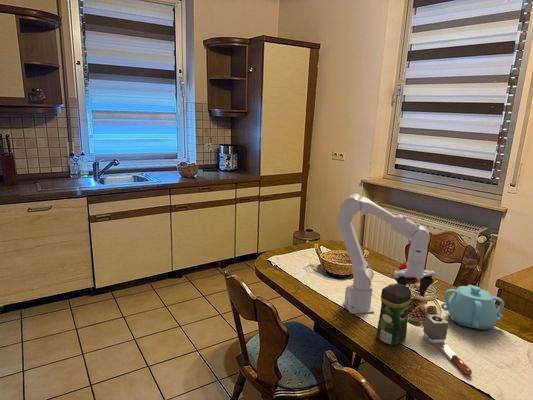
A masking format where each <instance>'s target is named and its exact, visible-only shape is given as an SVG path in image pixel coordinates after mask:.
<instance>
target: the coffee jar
mask: <svg viewBox="0 0 533 400" xmlns="http://www.w3.org/2000/svg"><path fill="white" fill-rule="evenodd" d="M411 300H412V290H411V289H410V287H409V286H407V285H406V286H405V285H402V284H400V283H397V282H396V283H393V284H390V285H386V286H385V287H383V288H382V289H381V294H380V302H381V304H380V312H379V318H378V321H377V322H378V323H377V328H376V337H377V338H378V339H379V341H381V342H382V343H384V344H386V345H390V346H396V345H398V344H400V343H402V342H403V341H405V340H406V338H407V335H408V334H407V333H408V316H409V308H410V304H411V302H412V301H411Z"/></svg>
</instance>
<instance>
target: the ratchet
mask: <svg viewBox="0 0 533 400" xmlns="http://www.w3.org/2000/svg"><path fill="white" fill-rule="evenodd" d="M422 337H423V339H424V340H425V342H426V343H428V344H430V345H434V346H436V348H438V350H439V351H440V352H441V353H442V355H444V357H446V358H447V360H448V361H449V362H453V363H455V365H456V366H457V367H458V368H459V369H460V370H461V371H462V372H463V374H465V375H466V376H472V374H473V371H472V369H471V368H470V367H469V366H468V365H467V364H466V363H465V362H464V361H463V360H462V359H461V358H460V357H459V356H458V355H457V354H456V352H455V351H453V350H452V349H451V348H450V346H448V345H447V344H446V342H445V340H446V339H439V340H431V339H430V338H429V337H428V336H427V334H426V333H425V332H424V331H423V336H422Z"/></svg>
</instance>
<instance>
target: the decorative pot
mask: <svg viewBox="0 0 533 400" xmlns="http://www.w3.org/2000/svg"><path fill="white" fill-rule="evenodd" d="M450 293H452V294H451V295H450V297H449V299H448V295H449V294H450ZM443 295H444V301H445V302H443V303H441V305H440V307H441V309H442V310H443V311H445V312H446V311H447V312H448V314H449V316H450V318H451V319H452V320H453V322H455V323H456V324H457V325H458V324H459V325H458V326H460V325H461V326H460V327H468V328H473V329H476V330H477V329H478V330H480V329H481V331H486V330H490V329H492V328H493V327H494V326H495V325H496V324H497V321H498V322H501V321H502V320H503V319H504V315H503V314H501V313H502V311H503V309H504V308H505V301H504V300H503V299H502V298H500V297H499V296H493V295H492V294H491V293H490V292H489V291H487V290H485V289H482V288H481V287H479V286H477V285H473V284H468V285H461V286H457V288H456V289H455V288H450V289H447V290H445V292H444V294H443ZM494 301H499V302H500V305H499V306H498V308H497V307H496V304H495V302H494Z"/></svg>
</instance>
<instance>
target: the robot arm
mask: <svg viewBox="0 0 533 400" xmlns="http://www.w3.org/2000/svg"><path fill="white" fill-rule="evenodd" d="M359 212H360V215H362V214H363V215H364V214H371V215H373V216H375V217H376V218H378V219H381V220H382V221H384V222H386V223H388V224H389V225H390V228H391V229H392V230H394V231H395V232H397V233H398V234H400V235H402V236H404V237H405V238H407V239H410V246H409V249H408V255H407V256H408V257H407V261H408V262H407V261H406V262H407V269H403V270H399V269H398V270H394V271H393V277H394V278H395V281H396V284H397V283H400V284H402V285H405V286H407V285H408V281H407V279H406V278H405V277H416V278H415V279H419V288H418V293H419V292H420V294H419V296H421V297H425V294H426V292H427V290H428V288H429V287H430V286H431V285H432V284H433V283H434V279H433V278H436V277H435V276H436V272H435V271H434V270H430V269H429V270H428V269H425V268H426V267H425V265H426V261H427V260H426V259H427V253H428V246H429V243H430V240H431V239H430V232H429V230H428V228H427V227H425V225H424V224H423V225H422V224H420V223H418V222H417V223H416V222H414V221H412V220H410V219H409V218H408V216H406V215H405V214H404V215H401V214H397V215H394V214H393V213H391V212H389V211H388V210H386V209H385V208H384V207H382V206H380V205H378V204H377V203H375V202H374V201H372V200H371V199H369V198H368V197H366V196H362V195H361V194H360V193H356V192H355V193H351V194H349V195H348V196H347V198H345V199H344V200H343V201H342V203H341V204H340V206H339V212H338V214H337V219H336V222H337V226H338V228H339V231H340V234H341V238H342V239H343V243H344V245H345V248H346V251H347V254H348V257H349V259H350V262H351V265H352V267H351V268H352V269H351V270H352V275H353V280H352V282H353V283H352V285H348V286H346V287H345V292H344V301H343V304H344V306H345V308H346V309H347V310H348V311H349V313H350V314H363V313H364V314H366V313H370V314H371V313H375V310H374V309H373V307H372V306H371V305H372V295H373V287H374V286H373V284H372V280H373V278H374V274H375V273H374V270H373V269H372V267H370V265H369V262H368V261H367V260H366V259H365V256H364V253H363V251H362V248H361V245H360V242H359V239H358V236H357V233H356V229H355V228H354V225H353V222H352V221H353V219H354V217H355V216H356V215H357V214H358V213H359Z"/></svg>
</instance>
